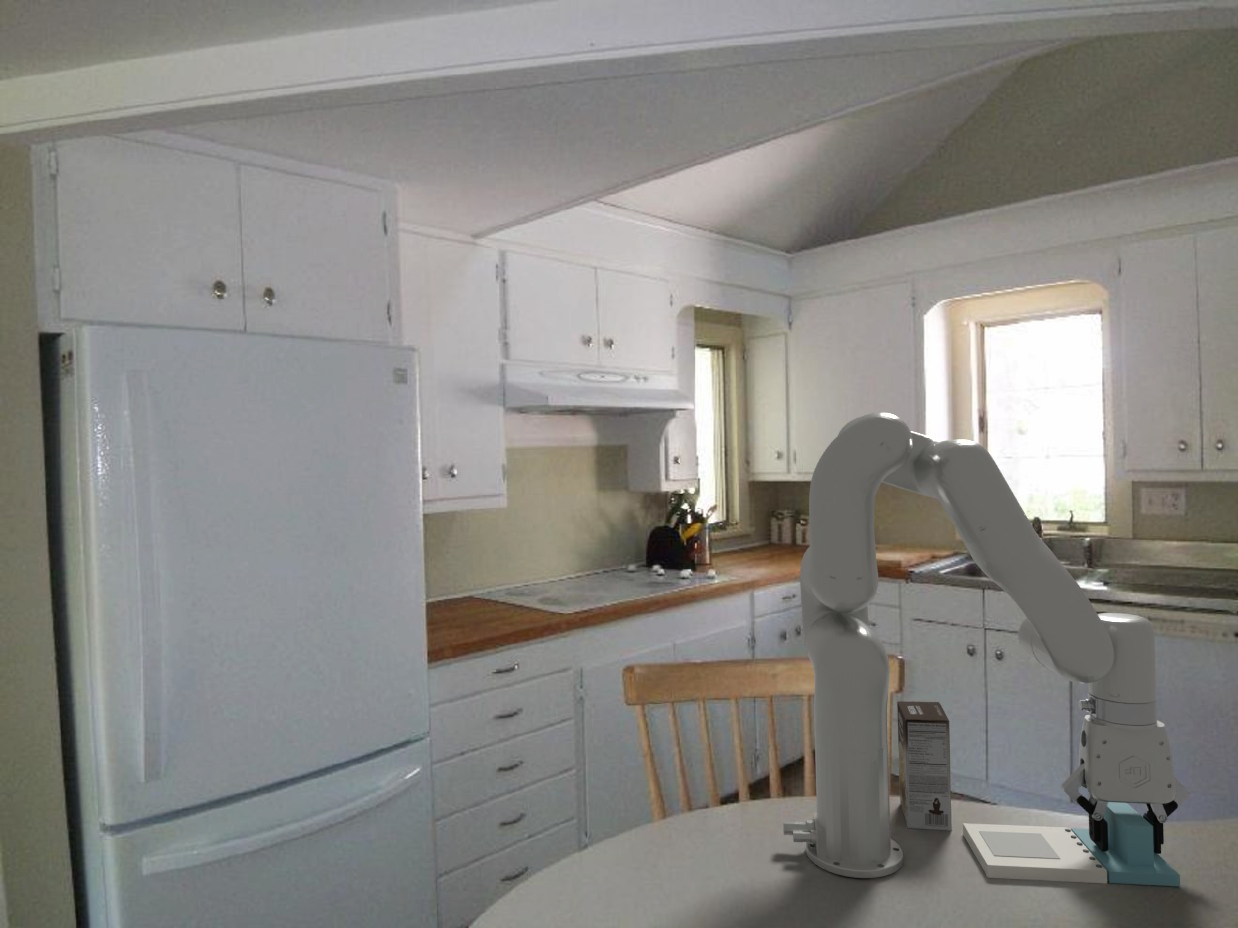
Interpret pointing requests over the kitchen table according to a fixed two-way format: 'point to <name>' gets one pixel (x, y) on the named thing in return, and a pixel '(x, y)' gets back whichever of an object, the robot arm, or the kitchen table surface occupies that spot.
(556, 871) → the kitchen table surface
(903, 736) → the coffee box
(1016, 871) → the white notebook
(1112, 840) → the stub
